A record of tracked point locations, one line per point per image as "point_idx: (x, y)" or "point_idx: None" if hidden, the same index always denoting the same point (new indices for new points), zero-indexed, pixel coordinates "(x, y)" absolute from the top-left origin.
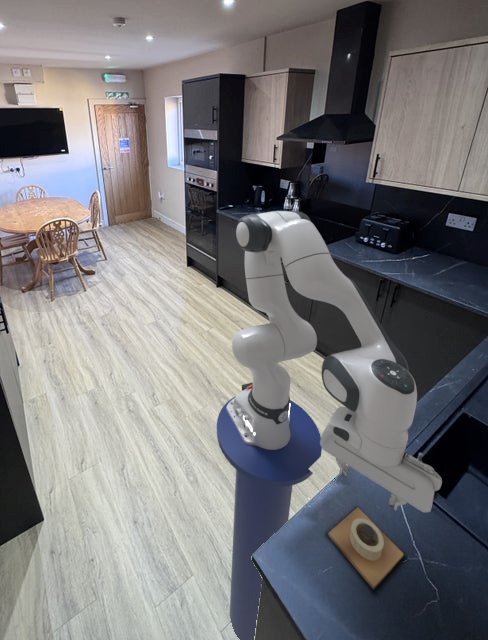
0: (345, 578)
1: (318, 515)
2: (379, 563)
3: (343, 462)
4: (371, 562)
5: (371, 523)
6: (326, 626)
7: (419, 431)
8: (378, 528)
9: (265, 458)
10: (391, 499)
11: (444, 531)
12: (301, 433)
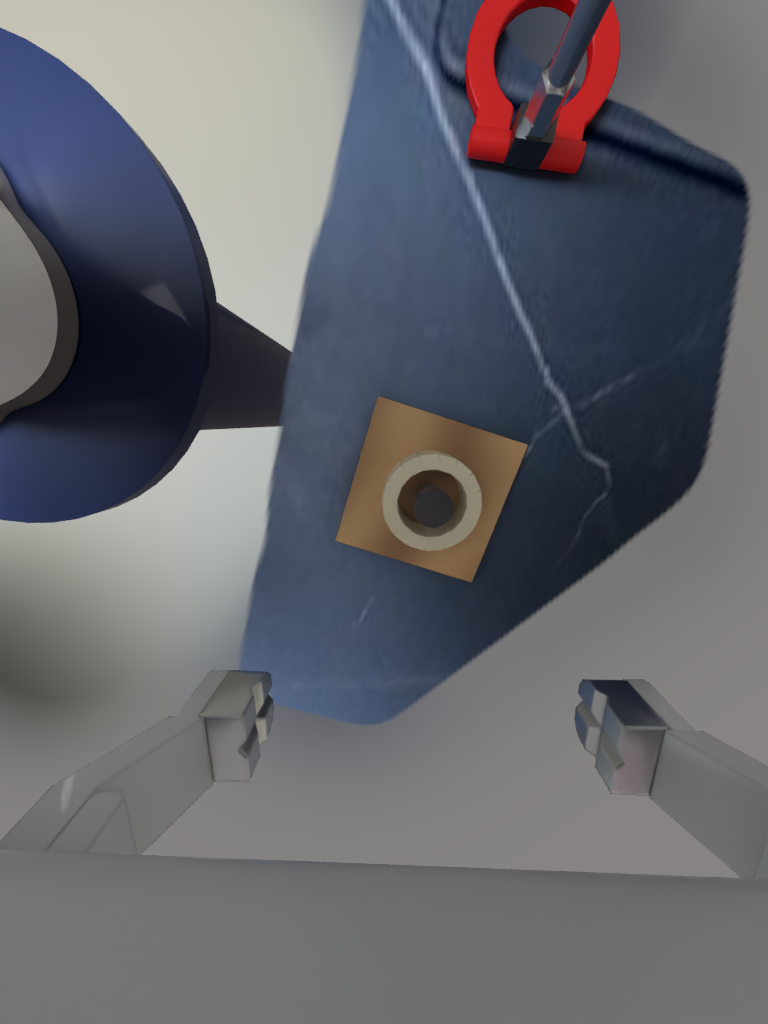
0: (408, 598)
1: (293, 503)
2: None
3: (167, 771)
4: None
5: (434, 459)
6: (403, 699)
7: None
8: (451, 422)
9: (70, 434)
10: (626, 778)
11: (637, 249)
12: (82, 205)
